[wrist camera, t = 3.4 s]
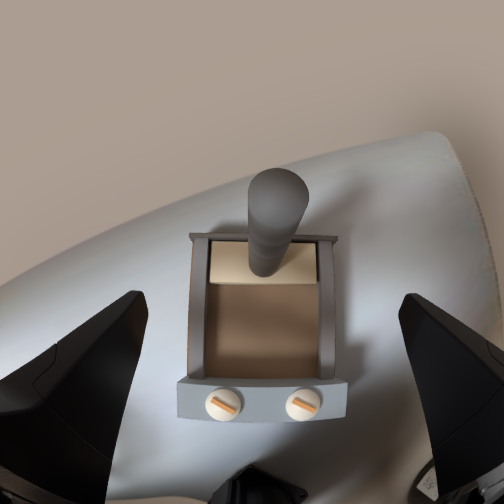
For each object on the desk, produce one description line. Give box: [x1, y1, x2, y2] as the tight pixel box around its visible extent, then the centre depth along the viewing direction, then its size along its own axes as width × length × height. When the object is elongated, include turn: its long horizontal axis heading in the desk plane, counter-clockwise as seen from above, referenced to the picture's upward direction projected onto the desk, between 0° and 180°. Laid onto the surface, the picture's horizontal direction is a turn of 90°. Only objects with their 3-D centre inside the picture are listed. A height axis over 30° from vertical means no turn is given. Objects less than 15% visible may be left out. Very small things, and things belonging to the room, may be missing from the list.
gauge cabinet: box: [177, 375, 348, 423], centre depth 17 cm, size 2×11×4 cm, turn 89°
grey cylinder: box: [210, 168, 317, 286], centre depth 15 cm, size 3×8×11 cm, turn 89°
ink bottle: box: [408, 460, 477, 504], centre depth 10 cm, size 10×9×12 cm
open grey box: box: [187, 233, 338, 380], centre depth 19 cm, size 13×11×2 cm
